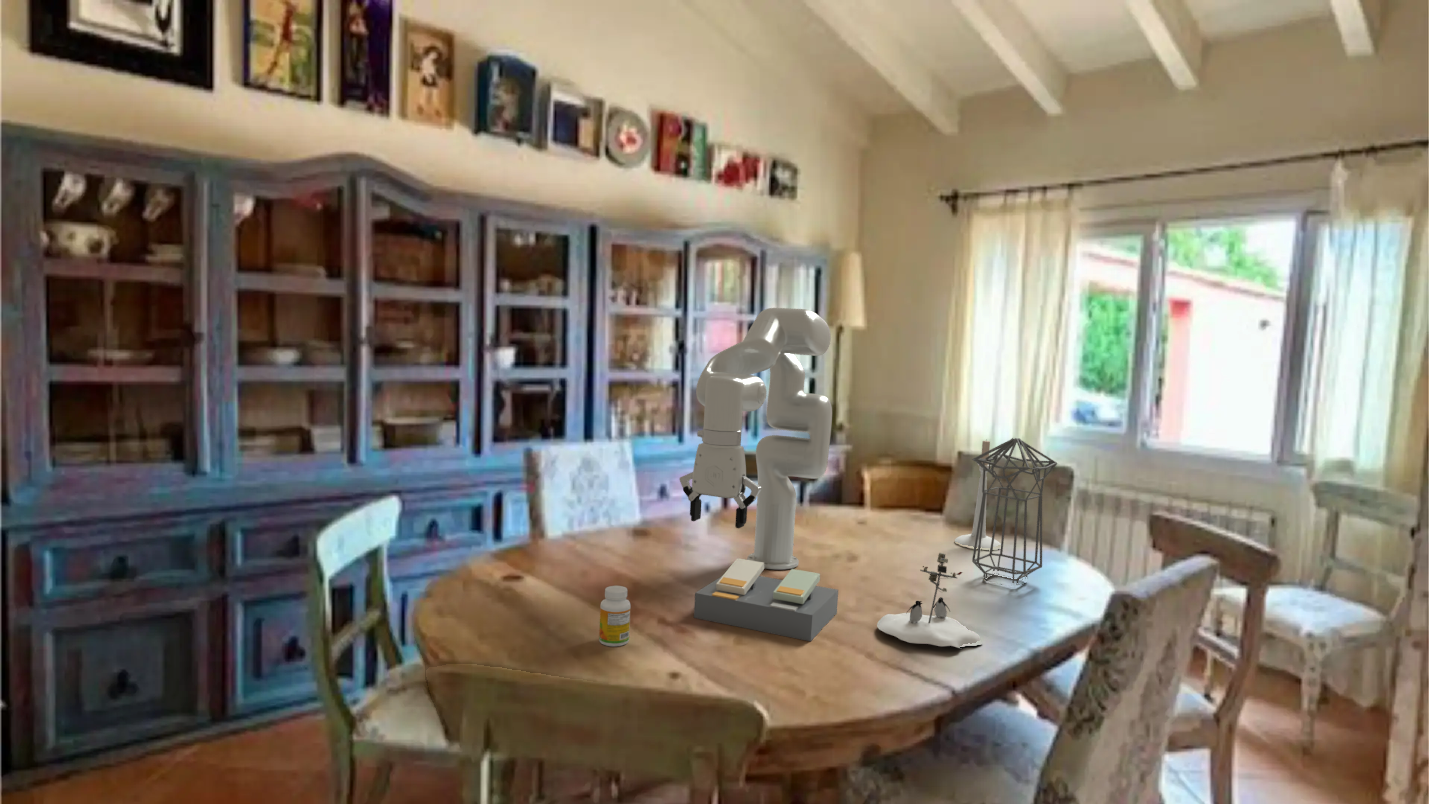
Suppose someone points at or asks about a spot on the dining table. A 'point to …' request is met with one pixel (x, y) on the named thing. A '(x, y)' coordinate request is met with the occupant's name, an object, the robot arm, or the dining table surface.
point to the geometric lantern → (1052, 464)
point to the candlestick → (971, 538)
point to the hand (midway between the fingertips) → (717, 523)
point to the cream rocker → (740, 576)
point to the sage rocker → (796, 586)
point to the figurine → (929, 620)
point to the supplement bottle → (614, 617)
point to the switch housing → (767, 609)
